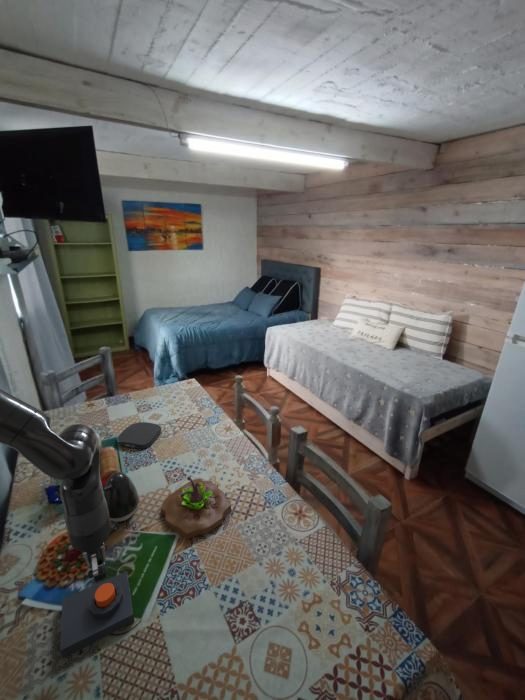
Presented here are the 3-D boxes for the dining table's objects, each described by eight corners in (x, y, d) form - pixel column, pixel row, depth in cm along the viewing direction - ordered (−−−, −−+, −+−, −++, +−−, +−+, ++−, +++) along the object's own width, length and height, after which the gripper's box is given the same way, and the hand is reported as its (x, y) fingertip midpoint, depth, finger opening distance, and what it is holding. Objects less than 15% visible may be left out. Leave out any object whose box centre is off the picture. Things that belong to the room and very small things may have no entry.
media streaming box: (164, 429, 140) (163, 424, 139) (147, 450, 127) (146, 444, 126) (134, 425, 142) (133, 420, 141) (114, 446, 129) (113, 439, 128)
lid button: (96, 611, 70) (95, 605, 69) (95, 593, 73) (94, 587, 72) (116, 601, 71) (114, 595, 71) (114, 585, 75) (113, 579, 74)
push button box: (62, 658, 65) (58, 645, 63) (64, 606, 74) (60, 593, 72) (134, 622, 71) (132, 609, 70) (128, 577, 80) (126, 565, 79)
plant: (188, 550, 88) (186, 520, 84) (152, 510, 100) (148, 482, 96) (241, 508, 101) (240, 480, 98) (203, 477, 114) (202, 451, 110)
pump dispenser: (96, 521, 95) (88, 482, 90) (122, 496, 105) (115, 459, 99) (123, 532, 92) (116, 492, 87) (147, 505, 101) (142, 467, 96)
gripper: (67, 501, 67) (81, 558, 73) (65, 554, 57) (81, 616, 63) (106, 489, 71) (116, 545, 77) (111, 537, 60) (122, 597, 66)
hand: (100, 577), depth 70 cm, fingers closed
